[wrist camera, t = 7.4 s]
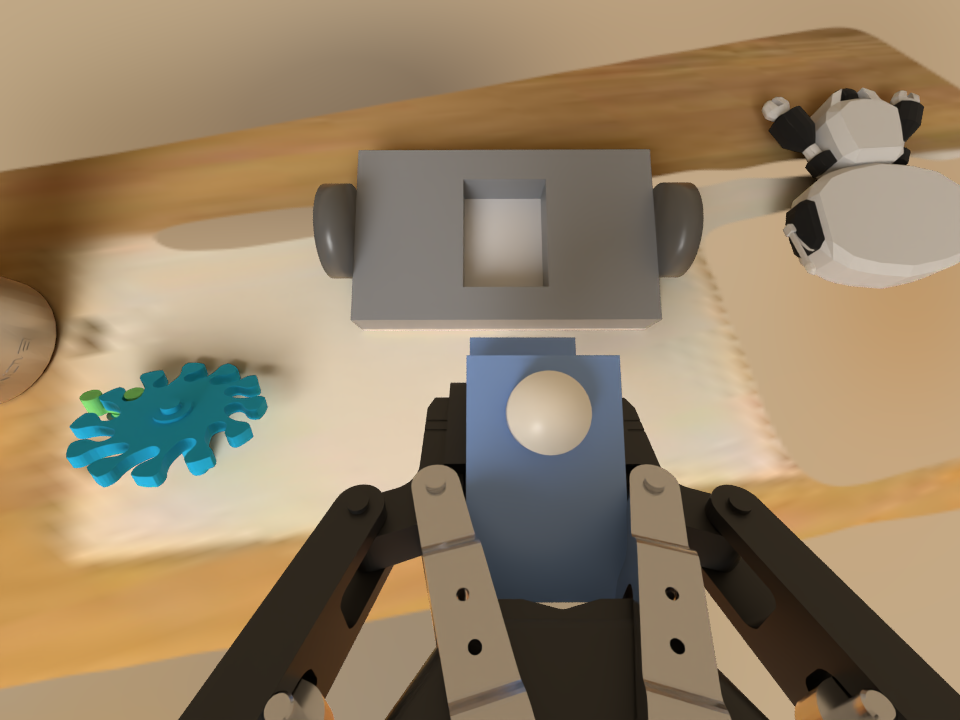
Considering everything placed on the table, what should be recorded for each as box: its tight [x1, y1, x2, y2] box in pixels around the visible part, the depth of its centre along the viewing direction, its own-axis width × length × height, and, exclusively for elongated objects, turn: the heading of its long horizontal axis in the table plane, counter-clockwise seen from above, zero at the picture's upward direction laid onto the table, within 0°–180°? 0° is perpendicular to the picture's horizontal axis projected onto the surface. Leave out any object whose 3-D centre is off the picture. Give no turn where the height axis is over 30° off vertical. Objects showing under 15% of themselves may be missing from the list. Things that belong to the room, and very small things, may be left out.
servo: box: [466, 338, 627, 602], centre depth 14 cm, size 9×4×9 cm, turn 0°
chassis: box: [313, 149, 703, 331], centre depth 28 cm, size 12×23×6 cm, turn 90°
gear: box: [66, 363, 268, 487], centre depth 27 cm, size 11×6×10 cm
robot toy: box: [762, 88, 960, 289], centre depth 30 cm, size 12×4×15 cm
